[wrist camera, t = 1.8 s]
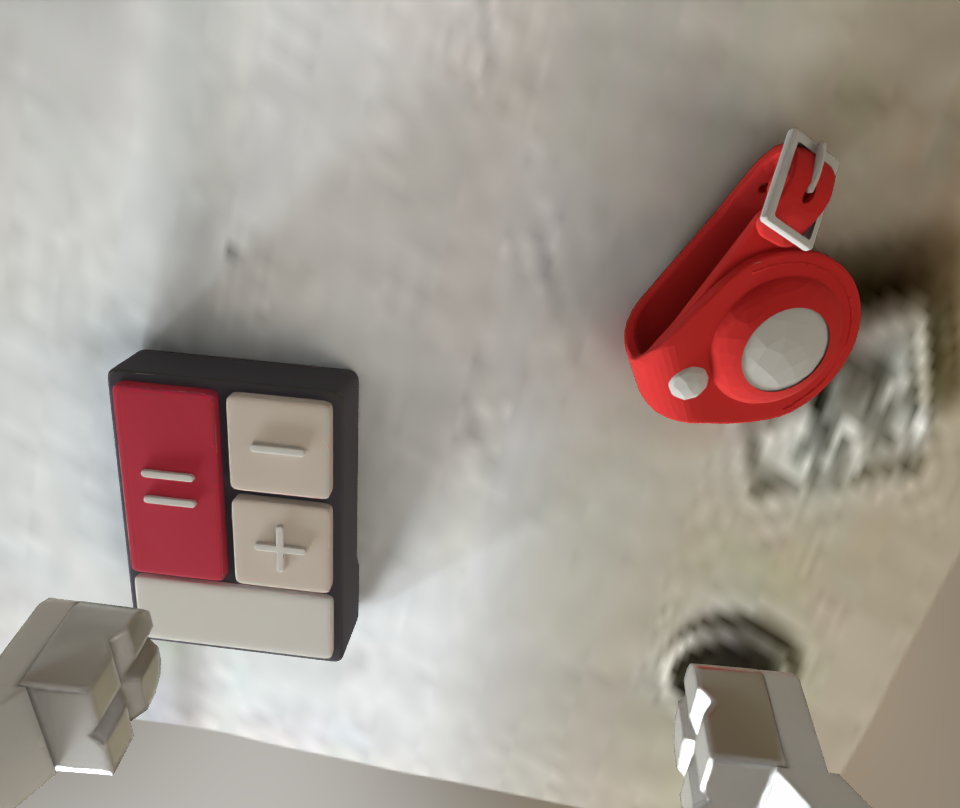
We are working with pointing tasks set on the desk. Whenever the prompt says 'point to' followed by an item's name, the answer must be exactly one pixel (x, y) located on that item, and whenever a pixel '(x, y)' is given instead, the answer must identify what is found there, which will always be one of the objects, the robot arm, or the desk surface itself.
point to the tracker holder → (749, 301)
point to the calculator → (240, 500)
